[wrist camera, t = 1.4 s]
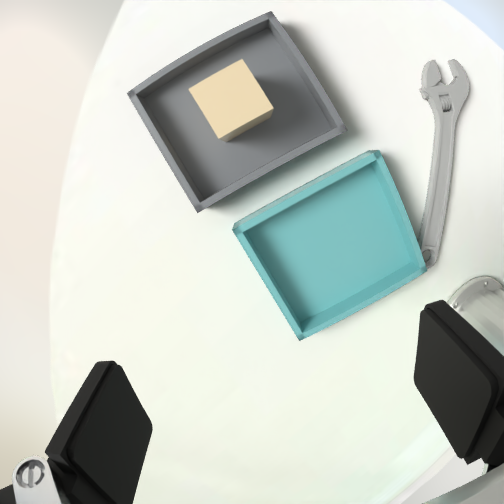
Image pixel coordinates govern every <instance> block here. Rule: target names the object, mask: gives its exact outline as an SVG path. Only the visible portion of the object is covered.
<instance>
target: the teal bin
mask: <svg viewBox="0 0 504 504" xmlns="http://www.w3.org/2000/svg"><path fill="white" fill-rule="evenodd" d="M232 230H233V232H234V234H235V235H236V237H237V239H238V240H239V242H240V244H241V245H242V247H243V249H244V250H245V252H246V254H247V255H248V257H249V258H250V260H251V262H252V263H253V265H254V267H255V268H256V270H257V272H258V273H259V275H260V277H261V278H262V280H263V282H264V283H265V285H266V287H267V288H268V290H269V292H270V293H271V295H272V296H273V298H274V300H275V301H276V303H277V305H278V306H279V308H280V310H281V311H282V313H283V315H284V316H285V318H286V320H287V321H288V323H289V324H290V326H291V328H292V329H293V331H294V333H295V334H296V336H297V338H298V339H299V341H300V340H303V339H305V338H307V337H309V336H311V335H313V334H315V333H317V332H319V331H321V330H323V329H325V328H327V327H329V326H331V325H333V324H335V323H336V322H338V321H340V320H342V319H344V318H346V317H348V316H350V315H352V314H354V313H355V312H357V311H359V310H361V309H363V308H365V307H366V306H368V305H370V304H372V303H374V302H375V301H377V300H379V299H381V298H382V297H384V296H386V295H388V294H389V293H391V292H393V291H395V290H396V289H398V288H400V287H401V286H403V285H405V284H406V283H408V282H410V281H411V280H413V279H415V278H416V277H418V276H420V275H421V274H423V273H425V272H426V271H427V268H426V265H425V262H424V259H423V256H422V253H421V250H420V247H419V244H418V242H417V239H416V236H415V233H414V231H413V228H412V225H411V223H410V220H409V217H408V215H407V212H406V210H405V207H404V205H403V202H402V200H401V197H400V195H399V193H398V190H397V188H396V186H395V183H394V181H393V179H392V177H391V174H390V172H389V170H388V168H387V166H386V163H385V161H384V159H383V157H382V155H381V153H380V151H379V150H369V151H367V152H365V153H363V154H361V155H359V156H357V157H355V158H353V159H351V160H349V161H348V162H346V163H344V164H342V165H340V166H338V167H336V168H334V169H332V170H331V171H329V172H327V173H325V174H323V175H321V176H319V177H317V178H316V179H314V180H312V181H310V182H308V183H306V184H304V185H303V186H301V187H299V188H297V189H295V190H293V191H292V192H290V193H288V194H286V195H284V196H282V197H281V198H279V199H277V200H275V201H273V202H272V203H270V204H268V205H266V206H264V207H263V208H261V209H259V210H257V211H255V212H254V213H252V214H250V215H248V216H246V217H245V218H243V219H241V220H239V221H238V222H236V223H234V226H233V229H232Z"/></svg>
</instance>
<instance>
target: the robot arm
mask: <svg viewBox="0 0 504 504" xmlns="http://www.w3.org/2000/svg"><path fill="white" fill-rule="evenodd" d="M414 382H415V385H416V387H417V389H418V390H419V392H420V394H421V395H422V397H423V398H424V400H425V402H426V403H427V405H428V407H429V408H430V410H431V412H432V413H433V415H434V417H435V418H436V420H437V422H438V423H439V425H440V427H441V428H442V430H443V432H444V433H445V435H446V437H447V439H448V440H449V442H450V444H451V446H452V447H453V449H454V451H455V453H456V454H457V456H458V457H459V458H461V459H462V458H464V460H465V461H466V463H467V464H470V463H472V462H474V461H476V460H478V459H480V458H482V460H483V461H484V463H485V465H484V469H483V472H482V476H480V477H478V478H477V479H475V480H473V481H471V482H469V483H467V484H465V485H463V486H461V487H459V488H456V489H454V490H452V491H450V492H448V493H446V494H444V495H441V496H439V497H437V498H435V499H432V500H430V501H427V502H425V503H422V504H504V289H503V287H502V285H501V284H500V283H499V282H498V281H496V280H495V279H493V278H491V277H488V276H481V277H477V278H474V279H472V280H470V281H468V282H467V283H466V284H464V285H463V286H462V287H461V288H459V289H458V290H457V291H456V292H455V294H454V295H453V296H452V297H451V298H450V300H449V302H448V303H446V302H445V301H444V300H439V301H436V302H433V303H429V304H427V305H426V306H425V308H424V310H422V311H421V313H420V323H419V335H418V345H417V355H416V363H415V371H414ZM151 434H152V423H151V421H150V419H149V417H148V415H147V414H146V412H145V410H144V408H143V407H142V405H141V403H140V401H139V399H138V397H137V396H136V394H135V392H134V390H133V388H132V386H131V384H130V382H129V380H128V378H127V376H126V374H125V372H124V370H123V368H122V367H121V366H120V365H117V363H116V362H115V361H101V362H97V363H96V364H95V365H94V367H93V369H92V370H91V372H90V373H89V375H88V377H87V378H86V380H85V382H84V383H83V385H82V387H81V388H80V390H79V392H78V393H77V395H76V397H75V398H74V400H73V402H72V404H71V405H70V407H69V409H68V410H67V412H66V414H65V416H64V417H63V419H62V421H61V423H60V425H59V426H58V428H57V430H56V432H55V434H54V435H53V437H52V439H51V441H50V443H49V445H48V446H47V448H46V450H45V453H46V454H47V455H48V457H49V458H48V460H47V461H46V460H45V459H44V458H42V457H40V456H30V457H27V458H25V459H23V460H22V461H20V463H18V464H17V466H16V467H15V469H14V471H13V474H12V482H13V484H12V485H9V486H7V487H5V488H3V489H1V490H0V504H133V500H134V496H135V492H136V489H137V485H138V481H139V477H140V474H141V470H142V466H143V462H144V459H145V455H146V452H147V448H148V445H149V441H150V438H151Z"/></svg>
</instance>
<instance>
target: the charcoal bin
mask: <svg viewBox="0 0 504 504" xmlns="http://www.w3.org/2000/svg"><path fill="white" fill-rule="evenodd" d="M241 59H243V61H244V62H245V64H246V65H247V67H248V68H249V70H250V71H251V73H252V74H253V76H254V78H255V79H256V81H257V82H258V84H259V85H260V87H261V89H262V90H263V92H264V93H265V95H266V97H267V98H268V100H269V101H270V103H271V105H272V106H273V108H274V109H273V112H272V116H271V118H269V119H267V120H265V121H264V122H262V123H260V124H258V125H256V126H254V127H253V128H251V129H249V130H247V131H245V132H244V133H242V134H240V135H238V136H237V137H235V138H233V139H231V140H230V141H228V142H224V141H222V140H220V139H218V137H217V135H216V134H215V132H214V130H213V129H212V127H211V125H210V124H209V122H208V120H207V119H206V117H205V115H204V114H203V112H202V110H201V109H200V107H199V106H198V104H197V102H196V101H195V99H194V97H193V96H192V94H191V93H190V91H189V88H191V87H193V86H194V85H196V84H198V83H199V82H201V81H203V80H204V79H206V78H208V77H210V76H211V75H213V74H215V73H217V72H218V71H220V70H222V69H224V68H226V67H228V66H229V65H231V64H233V63H235V62H237V61H239V60H241ZM127 94H128V96H129V98H130V100H131V101H132V103H133V105H134V107H135V108H136V110H137V112H138V114H139V115H140V117H141V119H142V120H143V122H144V124H145V126H146V127H147V129H148V131H149V132H150V134H151V136H152V138H153V139H154V141H155V143H156V144H157V146H158V148H159V150H160V151H161V153H162V155H163V156H164V158H165V160H166V161H167V163H168V165H169V166H170V168H171V170H172V171H173V173H174V175H175V177H176V178H177V180H178V182H179V183H180V185H181V187H182V188H183V190H184V191H185V193H186V195H187V196H188V198H189V200H190V201H191V203H192V205H193V206H194V208H195V210H196V211H197V213H199V212H200V211H202V210H204V209H205V208H207V207H209V206H210V205H212V204H214V203H215V202H217V201H219V200H220V199H222V198H224V197H226V196H227V195H229V194H231V193H232V192H234V191H236V190H238V189H239V188H241V187H243V186H245V185H246V184H248V183H250V182H252V181H253V180H255V179H257V178H259V177H261V176H262V175H264V174H266V173H268V172H270V171H271V170H273V169H275V168H277V167H279V166H281V165H282V164H284V163H286V162H288V161H290V160H292V159H293V158H295V157H297V156H299V155H301V154H303V153H305V152H307V151H308V150H310V149H312V148H314V147H316V146H318V145H320V144H322V143H324V142H326V141H328V140H330V139H332V138H334V137H336V136H338V135H340V134H342V133H344V132H345V131H347V129H346V127H345V125H344V123H343V121H342V119H341V118H340V116H339V114H338V112H337V111H336V109H335V107H334V105H333V104H332V102H331V100H330V98H329V97H328V95H327V93H326V92H325V90H324V88H323V87H322V85H321V83H320V82H319V80H318V79H317V77H316V75H315V74H314V72H313V71H312V69H311V67H310V66H309V64H308V63H307V61H306V60H305V58H304V57H303V55H302V54H301V52H300V51H299V49H298V48H297V46H296V45H295V43H294V42H293V40H292V39H291V38H290V36H289V35H288V33H287V32H286V31H285V29H284V28H283V26H282V25H281V24H280V22H279V21H278V20H277V18H276V17H275V16H274V14H273V13H272V12H271V11H270V12H268V13H266V14H263V15H261V16H259V17H256V18H254V19H252V20H250V21H248V22H246V23H243V24H241V25H239V26H237V27H235V28H233V29H231V30H229V31H227V32H225V33H223V34H221V35H219V36H217V37H216V38H214V39H212V40H210V41H208V42H206V43H204V44H203V45H201V46H199V47H197V48H196V49H194V50H192V51H190V52H189V53H187V54H185V55H184V56H182V57H180V58H179V59H177V60H175V61H174V62H172V63H171V64H169V65H167V66H166V67H164V68H163V69H161V70H160V71H158V72H157V73H155V74H154V75H152V76H151V77H149V78H148V79H146V80H145V81H143V82H142V83H140V84H139V85H138V86H136V87H135V88H133V89H132V90H131V91H129V92H128V93H127Z"/></svg>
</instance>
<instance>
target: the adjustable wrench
mask: <svg viewBox="0 0 504 504" xmlns="http://www.w3.org/2000/svg"><path fill="white" fill-rule="evenodd" d="M448 64H449V67H450V69H451V72H452V75H453V78H454V79H453V81H452V82H451V83H450V84H449V85H445V84H443V83H442V82H440V81H439V80H441V79H442V78H441V75H440V72H439V69H438V66H437V63H436V61H435V60H431V61H429V62H427V63H426V64H425V66H424V68H423V71H422V78H421V84H422V88H421V89H419V91H420V92H421V93H422V97H423V99H427V100H428V102H429V104H430V107H431V109H432V111H433V114H434V120H435V131H434V142H433V152H432V161H431V169H430V177H429V184H428V191H427V197H426V203H425V209H424V215H423V220H422V225H421V230H420V235H419V240H418V244H419V247H420V250H421V253H423V252H424V251H425V250H427V249H428V250H429V251H430V252H431V256H430V259H429V260H428V261H427V262H425V265H426V268H430V267H432V266H433V265H434V264H435V262H436V260H437V256H438V251H439V247H440V242H441V237H442V232H443V226H444V220H445V215H446V208H447V202H448V195H449V187H450V179H451V170H452V160H453V147H454V131H455V124H456V120H457V117H458V115H459V112H460V110H461V107H462V105H463V103H464V101H465V100H466V98H467V96H468V93H469V81H468V77H467V75H466V72H465V70H464V69H463V67H462V66H461V64H460V63H459V62H458V61H457V60H455V59H452V60H449V61H448ZM444 110H448V111H449V112H443V111H444Z"/></svg>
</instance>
